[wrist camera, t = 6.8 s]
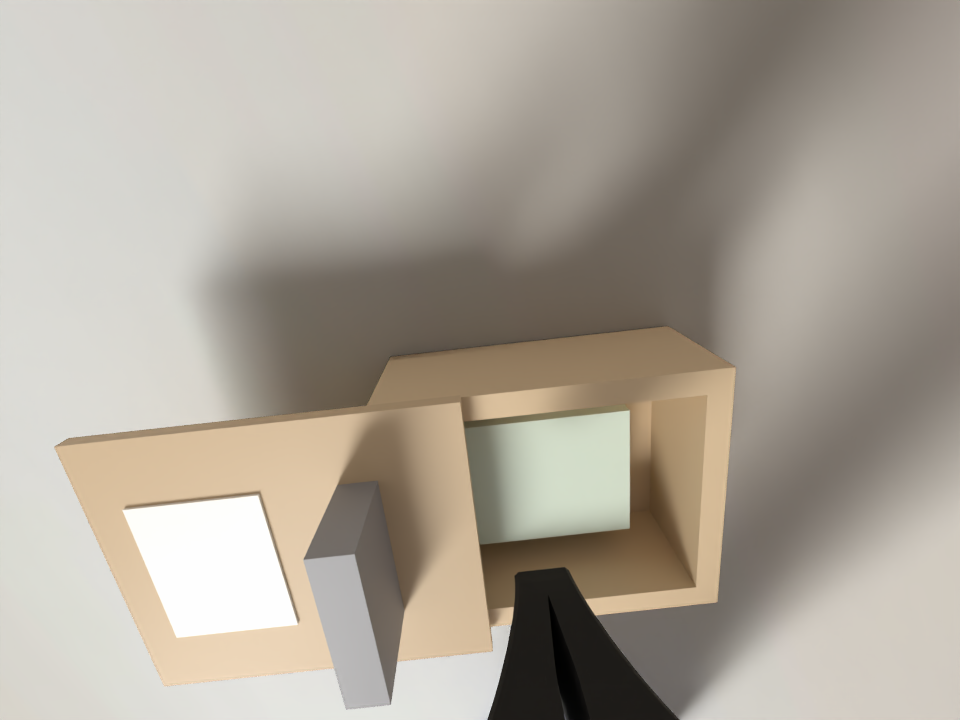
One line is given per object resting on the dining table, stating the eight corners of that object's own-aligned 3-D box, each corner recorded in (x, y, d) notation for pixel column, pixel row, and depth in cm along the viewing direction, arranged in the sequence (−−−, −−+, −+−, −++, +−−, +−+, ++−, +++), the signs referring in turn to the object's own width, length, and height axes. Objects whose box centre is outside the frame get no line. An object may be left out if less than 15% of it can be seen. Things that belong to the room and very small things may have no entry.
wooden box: (668, 326, 18) (736, 367, 14) (662, 516, 21) (717, 602, 16) (390, 356, 18) (365, 407, 14) (423, 542, 21) (412, 635, 17)
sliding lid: (460, 395, 13) (458, 459, 10) (491, 638, 16) (498, 749, 13) (68, 438, 13) (-63, 515, 10) (172, 672, 16) (98, 791, 13)
